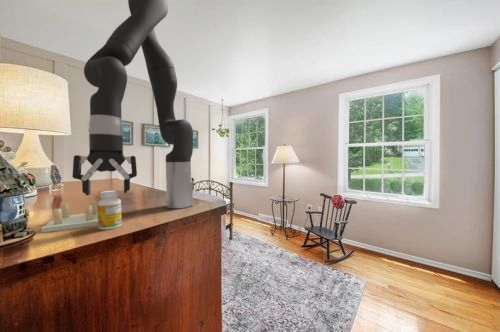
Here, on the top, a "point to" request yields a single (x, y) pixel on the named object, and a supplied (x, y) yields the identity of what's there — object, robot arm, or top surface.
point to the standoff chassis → (72, 219)
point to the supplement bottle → (109, 210)
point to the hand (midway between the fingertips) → (107, 193)
